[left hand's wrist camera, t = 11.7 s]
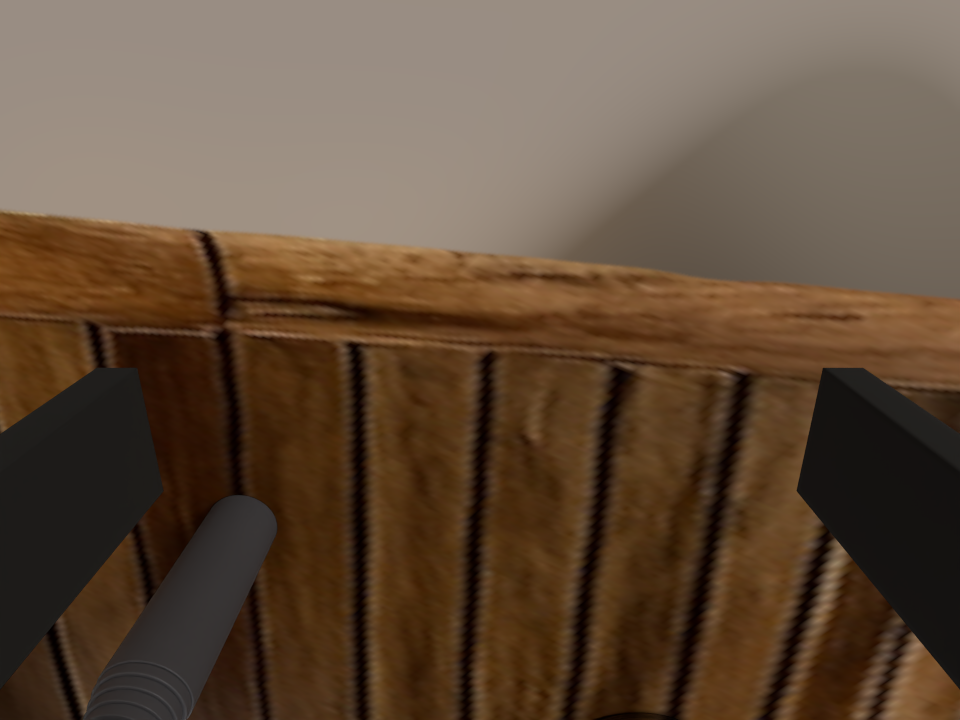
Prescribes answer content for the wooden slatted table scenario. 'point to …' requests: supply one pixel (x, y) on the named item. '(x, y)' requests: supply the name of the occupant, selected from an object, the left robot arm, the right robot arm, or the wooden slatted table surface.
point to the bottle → (187, 618)
